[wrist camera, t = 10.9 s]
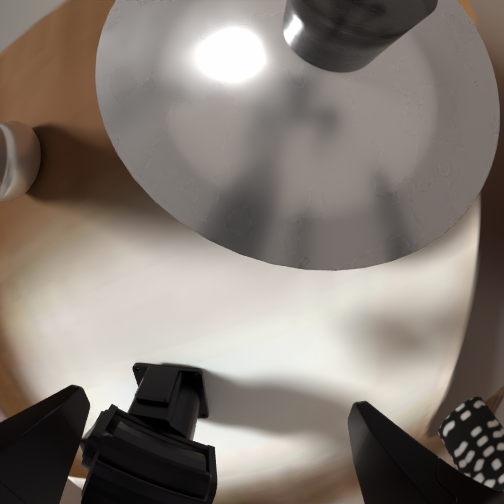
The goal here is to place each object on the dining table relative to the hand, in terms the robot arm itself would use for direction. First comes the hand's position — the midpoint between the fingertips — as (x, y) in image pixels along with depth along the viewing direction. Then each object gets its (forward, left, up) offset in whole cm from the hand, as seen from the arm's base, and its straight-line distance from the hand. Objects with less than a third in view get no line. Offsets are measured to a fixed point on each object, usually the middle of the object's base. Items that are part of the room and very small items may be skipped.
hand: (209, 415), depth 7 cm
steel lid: (+13, -5, -6) cm, 15 cm away
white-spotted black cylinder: (-24, -32, -13) cm, 42 cm away
